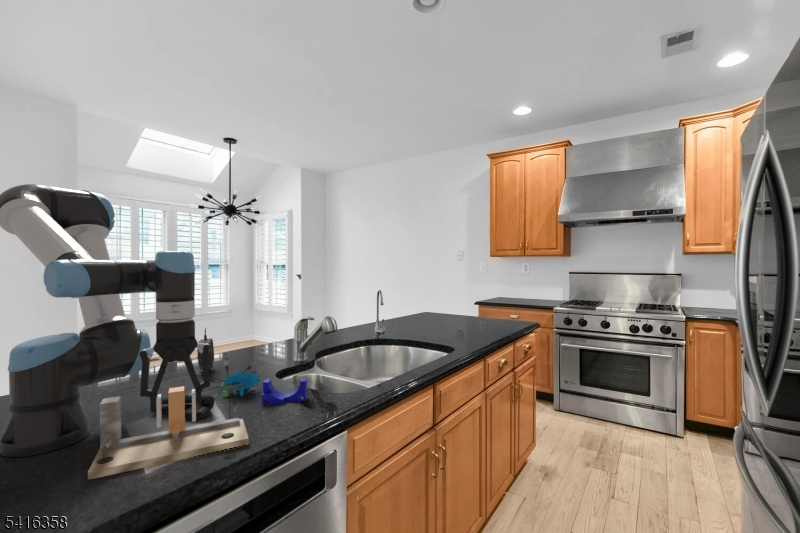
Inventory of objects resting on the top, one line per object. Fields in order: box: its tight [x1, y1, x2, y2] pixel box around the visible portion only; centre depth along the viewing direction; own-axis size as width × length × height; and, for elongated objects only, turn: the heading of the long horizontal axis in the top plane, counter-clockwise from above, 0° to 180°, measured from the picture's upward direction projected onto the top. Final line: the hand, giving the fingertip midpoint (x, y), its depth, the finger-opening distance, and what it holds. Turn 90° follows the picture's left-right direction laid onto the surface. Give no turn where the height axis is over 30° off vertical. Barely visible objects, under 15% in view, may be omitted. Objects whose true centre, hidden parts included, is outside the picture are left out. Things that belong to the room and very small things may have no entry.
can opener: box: [154, 393, 215, 421], centre depth 102 cm, size 18×7×6 cm, turn 79°
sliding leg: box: [167, 385, 186, 443], centre depth 84 cm, size 3×8×9 cm, turn 28°
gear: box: [220, 371, 260, 398], centre depth 116 cm, size 11×6×10 cm
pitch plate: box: [87, 396, 250, 481], centre depth 83 cm, size 28×12×12 cm, turn 118°
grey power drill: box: [196, 327, 215, 372], centre depth 141 cm, size 11×5×16 cm, turn 22°
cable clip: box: [261, 377, 308, 406], centre depth 111 cm, size 12×4×6 cm, turn 95°
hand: (176, 422), depth 86 cm, fingers open, 6 cm apart
